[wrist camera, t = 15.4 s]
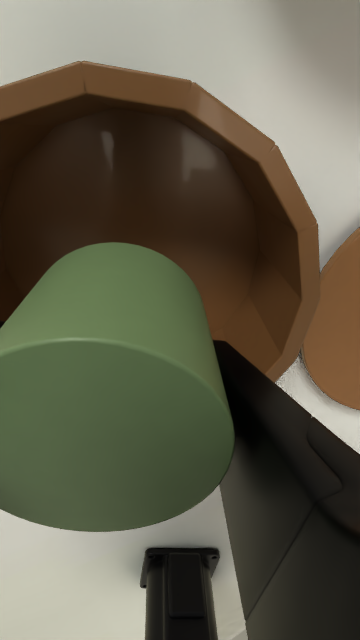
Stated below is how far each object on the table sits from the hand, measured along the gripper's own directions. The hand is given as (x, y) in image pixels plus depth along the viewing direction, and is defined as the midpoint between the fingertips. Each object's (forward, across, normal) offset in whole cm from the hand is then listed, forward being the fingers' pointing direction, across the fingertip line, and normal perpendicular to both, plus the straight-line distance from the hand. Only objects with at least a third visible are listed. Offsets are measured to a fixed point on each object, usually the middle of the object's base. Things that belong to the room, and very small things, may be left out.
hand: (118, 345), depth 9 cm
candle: (+1, 0, 0) cm, 1 cm away
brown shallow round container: (+7, 0, 0) cm, 7 cm away
